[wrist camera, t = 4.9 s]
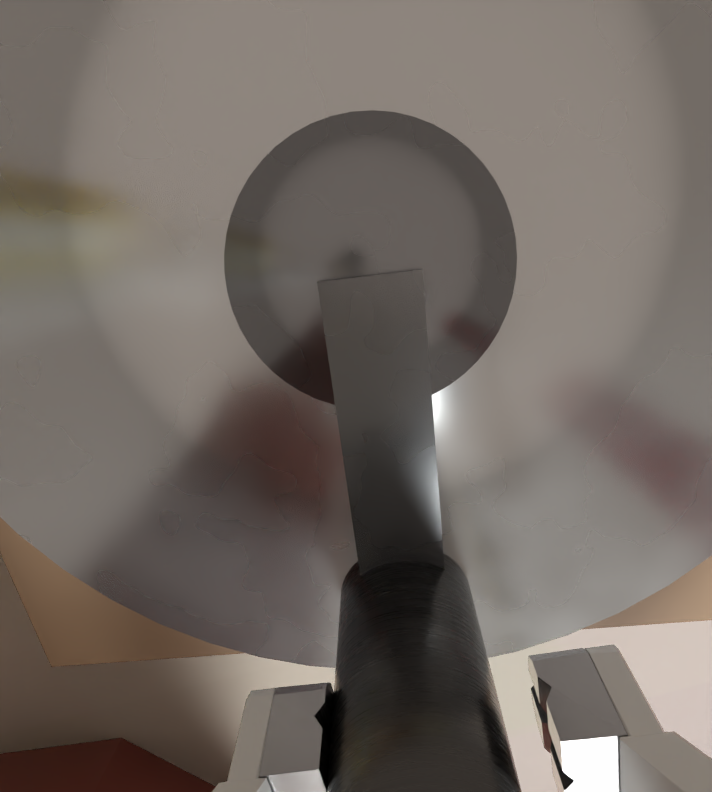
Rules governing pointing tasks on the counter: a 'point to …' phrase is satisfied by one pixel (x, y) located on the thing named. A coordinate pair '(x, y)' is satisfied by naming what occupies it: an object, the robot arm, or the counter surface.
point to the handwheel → (361, 334)
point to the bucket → (94, 770)
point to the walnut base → (148, 640)
